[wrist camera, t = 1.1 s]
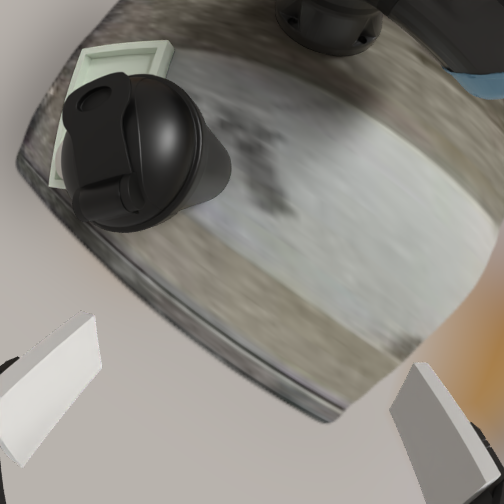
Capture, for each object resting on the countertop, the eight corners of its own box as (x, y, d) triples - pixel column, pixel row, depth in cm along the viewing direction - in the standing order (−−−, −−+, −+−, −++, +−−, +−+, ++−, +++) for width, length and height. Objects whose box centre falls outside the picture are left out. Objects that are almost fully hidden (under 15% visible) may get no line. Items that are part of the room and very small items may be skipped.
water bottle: (232, 123, 33) (178, 29, 10) (243, 202, 35) (201, 227, 12) (156, 139, 33) (31, 94, 11) (166, 214, 36) (43, 254, 13)
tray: (92, 55, 30) (82, 48, 27) (174, 49, 30) (168, 40, 27) (60, 186, 35) (48, 186, 32) (139, 198, 35) (129, 199, 32)
